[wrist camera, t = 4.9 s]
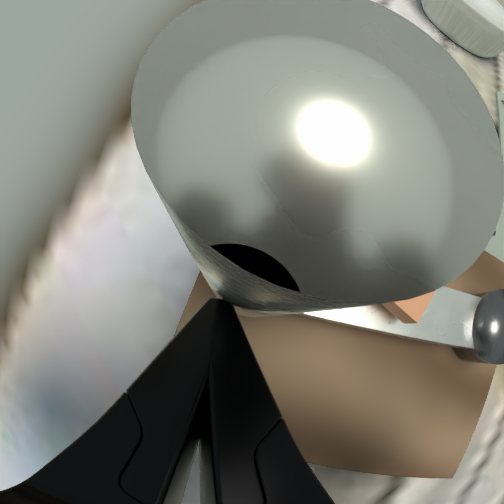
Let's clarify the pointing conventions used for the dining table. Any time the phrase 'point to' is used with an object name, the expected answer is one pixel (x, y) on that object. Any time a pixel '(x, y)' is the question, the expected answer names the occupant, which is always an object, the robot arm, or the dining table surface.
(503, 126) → the metal bracket
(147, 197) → the dining table surface
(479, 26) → the ramekin
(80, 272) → the dining table surface
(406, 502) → the dining table surface
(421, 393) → the board
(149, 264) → the dining table surface
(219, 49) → the grey cylinder with bar
